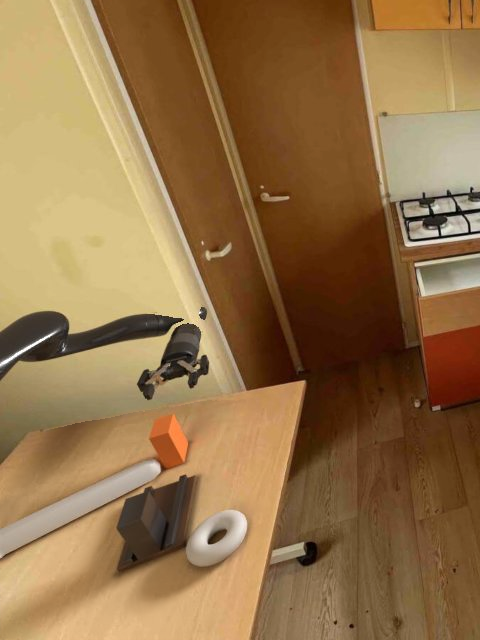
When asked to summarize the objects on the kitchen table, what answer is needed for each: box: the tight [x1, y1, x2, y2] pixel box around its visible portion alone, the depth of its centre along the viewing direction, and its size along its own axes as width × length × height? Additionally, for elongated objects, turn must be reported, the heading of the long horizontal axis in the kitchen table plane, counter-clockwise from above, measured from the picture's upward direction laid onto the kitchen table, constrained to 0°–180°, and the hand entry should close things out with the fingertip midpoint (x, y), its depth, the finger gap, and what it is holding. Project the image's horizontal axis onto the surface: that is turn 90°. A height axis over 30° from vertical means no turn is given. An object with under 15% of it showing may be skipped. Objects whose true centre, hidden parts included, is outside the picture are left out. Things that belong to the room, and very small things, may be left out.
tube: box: [0, 457, 162, 559], centre depth 87 cm, size 5×5×25 cm
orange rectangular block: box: [148, 413, 189, 470], centre depth 97 cm, size 4×6×10 cm, turn 27°
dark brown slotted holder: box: [115, 473, 198, 574], centre depth 83 cm, size 10×16×11 cm, turn 27°
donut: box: [185, 509, 248, 568], centre depth 81 cm, size 10×4×10 cm
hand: (169, 391), depth 103 cm, fingers open, 8 cm apart
